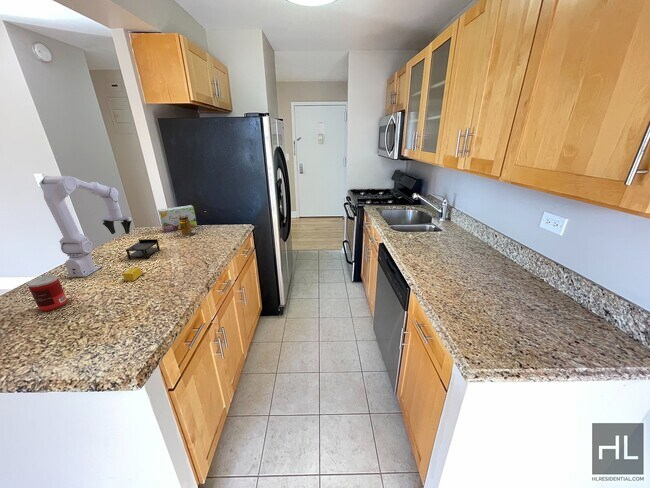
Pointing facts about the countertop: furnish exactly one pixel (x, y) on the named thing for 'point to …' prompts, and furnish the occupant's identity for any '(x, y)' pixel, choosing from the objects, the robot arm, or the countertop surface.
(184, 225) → the condiment
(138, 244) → the rack
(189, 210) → the snack box
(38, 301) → the canned food
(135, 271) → the yellow block
